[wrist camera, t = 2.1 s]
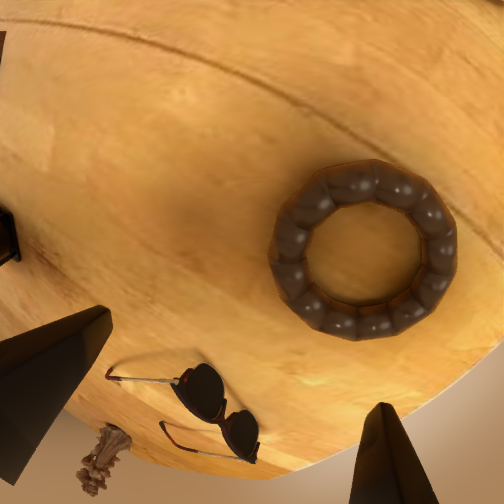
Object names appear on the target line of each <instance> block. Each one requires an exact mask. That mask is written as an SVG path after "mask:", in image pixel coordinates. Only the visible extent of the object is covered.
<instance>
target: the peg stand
mask: <svg viewBox="0 0 504 504" xmlns="http://www.w3.org/2000/svg"><path fill="white" fill-rule="evenodd" d="M5 33H6V31H0V61H1V55H2V49H3V43H4V38H5Z"/></svg>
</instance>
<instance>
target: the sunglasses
mask: <svg viewBox="0 0 504 504" xmlns="http://www.w3.org/2000/svg"><path fill="white" fill-rule="evenodd" d="M112 371H113V369H112V368H110V369H108V371H107V373H106V375H105V378H106V379H107V380H117V381H122V380H125V381H141V382H154V383H159V384H170V385H171V387H172V389H173V390H174V392H175V393H176V395H177V397H178V398H179V399H180V401H181V402H182V403H183V404H184V406H185V407H186V408H187V409H188V410H189V411H190V412H191V413H192V414H194V415H195V416H196V417H198V418H199V419H201V420H203V421H205V422H207V423H210V424H218V425H219V426H220V428H221V431H222V435H223V437H224V439H225V441H226V443H227V445H228V446H229V447H230V449H231V450H232V451H233V452H234V453H235V454H236V455H237V456H238V457H232V456H226V455H220V454H215V453H209V452H204V451H199V450H195V449H190V448H186V447H182V446H180V445H178V444H177V443H176V442H175V441H174V440H173V439H172V438H171V436H170V435H169V434H168V432H167V431H166V428H165V425H164V423H163V421H161V422H159V424H160V426H161V428H162V430H163V431H164V432H165V434H166V435H167V437H168V438H169V439H170V440H171V442H172V443H173V444H174V445H175V446H176V447H178V448H180V449H183V450H186V451H190V452H195V453H200V454H205V455H211V456H217V457H223V458H228V459H234V460H238V461H244V462H249V463H251V464H256V463H257V452H258V449H259V445H260V442H257V440H258V436H259V424H258V421H257V419H256V418H255V416H254V415H253V413H252V412H251V411H250V410H248V409H241V410H239V411H238V412H233V413H232V414H231V415H230V416H229V417H228V418H227V419H226V420H225V418H224V415H225V410H226V404H227V399H225V398H224V396H225V385H224V381H223V379H222V377H221V375H220V374H219V372H218V371H217V370H216V369H215V368H214V367H213V366H212V365H210V364H208V363H207V362H201V363H199V364H198V365H196V366H195V367H194V368H188V369H187V370H186V371H185V372H184V373H183V375H182V376H181V377H180V378H173V379H145V378H127V377H118V376H109V375H110V373H111V372H112Z"/></svg>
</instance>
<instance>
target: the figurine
mask: <svg viewBox="0 0 504 504" xmlns="http://www.w3.org/2000/svg"><path fill="white" fill-rule="evenodd" d="M100 433H101V437H97V439H98V440H99V441H100V443H99V444H97V445H96V447H95V449H94V450H93V451H91V453H90V454H89V455H88V456H86V457H84V458H83V459H82V461H81V463H82V464H83V465H84V466H85V468H83V469H80V470H81V472H80V471H78V472H77V473H76V477H77V478H78V479H79V480H80V481H81V483H82V484H83V485H82V488H83V491H85V492H86V493H87V494H90V495H91V496H93V497H94V496H95V495H98V488H102V489H103V490H105V489H106V488H107V487H106V485H105V484H104V483H105V477H107V478H108V477H111V476H110V471H109V470H108V468H113V467H114V461H117V462H118V461H120V459H119V458H117V457H116V454H117V453H118V452H119V451H122V450H126V451H130V441H131V438H130V437H129V436H128V435H126V433H124V432H123V431H122V430H121V429H119V428H118V427H116V426H114V425H109V427H104V428H100ZM94 456H96V459H95V460H93V458H94Z"/></svg>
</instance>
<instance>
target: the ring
mask: <svg viewBox="0 0 504 504" xmlns="http://www.w3.org/2000/svg"><path fill="white" fill-rule="evenodd" d="M369 203H376V204H379V205H382V206H385V207H387V208H390V209H393V210H395V211H398V212H401V213H403V214H405V216H406V217H407V218H408V219H409V221H410V222H411V223H412V225H413V226H414V227H415V229H416V230H417V231H418V233H419V234H420V235H421V241H422V256H423V263H422V265H421V267H420V269H419V271H418V273H417V275H416V277H415V279H414V281H413V283H412V285H411V287H410V288H408V289H407V290H405V291H404V292H403V293H401V294H400V295H398V296H397V297H395V298H394V299H392V300H391V301H389V302H388V303H385V304H379V305H372V306H366V307H359V308H358V307H354V306H351V305H348V304H345V303H341V302H338V301H335V300H332V299H330V298H329V297H328V296H327V295H326V294H325V293H324V292H323V291H322V290H321V289H320V288H319V287H318V286H317V285H316V284H315V283H314V282H313V281H312V277H311V273H310V269H309V265H308V261H307V257H306V255H307V253H308V250H309V246H310V243H311V240H312V237H313V234H314V231H315V230H316V229H317V228H318V227H319V226H320V225H321V224H323V223H324V222H325V221H326V220H327V219H328V218H330V217H331V216H332V215H333V214H334V213H335V212H337V211H338V210H339V209H342V208H347V207H353V206H358V205H363V204H369ZM267 257H268V262H269V265H270V268H271V271H272V275H273V278H274V281H275V284H276V287H277V290H278V293H279V296H280V299H281V300H282V302H283V303H284V304H285V305H286V306H288V307H289V308H290V309H291V310H292V311H293V312H294V313H295V314H296V315H297V316H298V317H300V318H301V319H302V320H303V321H304V322H305V323H306V324H307V325H308V326H309V327H310V328H312V329H313V330H316V331H319V332H322V333H325V334H329V335H332V336H336V337H339V338H342V339H346V340H349V341H354V342H356V341H365V340H372V339H379V338H386V337H393V336H397V335H399V334H401V333H402V332H404V331H405V330H407V329H409V328H410V327H412V326H413V325H415V324H416V323H418V322H420V321H421V320H423V319H424V318H426V317H427V316H429V315H430V314H431V313H433V312H434V311H435V309H436V308H437V306H438V305H439V303H440V301H441V300H442V298H443V296H444V294H445V293H446V291H447V289H448V288H449V286H450V284H451V282H452V280H453V279H454V277H455V275H456V272H457V226H456V222H455V220H454V218H453V216H452V215H451V213H450V211H449V210H448V208H447V207H446V205H445V204H444V202H443V201H442V199H441V198H440V197H439V195H438V194H437V192H436V191H435V189H434V188H433V187H432V185H431V184H430V183H429V181H428V180H426V179H425V178H423V177H421V176H419V175H416V174H414V173H412V172H409V171H407V170H404V169H402V168H399V167H396V166H394V165H391V164H389V163H386V162H383V161H380V160H376V159H371V160H365V161H360V162H355V163H350V164H345V165H340V166H335V167H330V168H326V169H322V170H320V171H318V172H317V173H315V174H314V175H313V176H312V177H311V178H310V179H309V180H308V181H307V182H306V183H305V184H304V185H303V186H301V187H300V188H299V189H298V190H297V191H296V192H295V193H294V194H293V195H292V196H291V197H290V198H289V199H288V200H287V201H285V202H284V203H283V205H282V206H281V207H280V209H279V211H278V214H277V218H276V222H275V226H274V230H273V234H272V237H271V241H270V245H269V249H268V253H267Z"/></svg>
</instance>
